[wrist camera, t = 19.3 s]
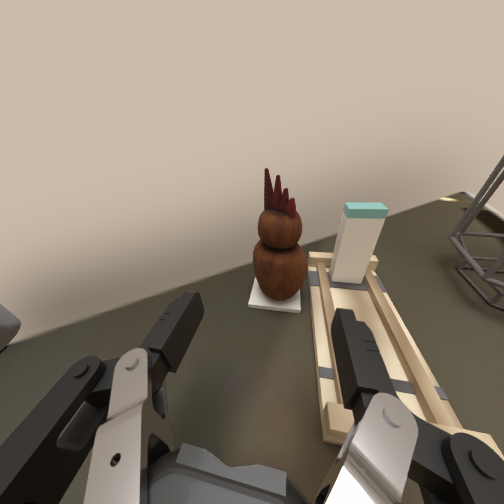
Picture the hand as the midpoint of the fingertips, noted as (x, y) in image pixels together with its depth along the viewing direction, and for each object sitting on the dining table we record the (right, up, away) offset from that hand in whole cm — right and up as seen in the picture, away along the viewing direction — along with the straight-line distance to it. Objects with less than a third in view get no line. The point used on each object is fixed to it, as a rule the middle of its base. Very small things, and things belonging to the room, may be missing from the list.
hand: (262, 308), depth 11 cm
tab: (+12, 0, +14) cm, 18 cm away
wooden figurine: (+3, -2, +14) cm, 14 cm away
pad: (+3, -2, +14) cm, 15 cm away
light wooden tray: (+11, -5, +9) cm, 15 cm away
